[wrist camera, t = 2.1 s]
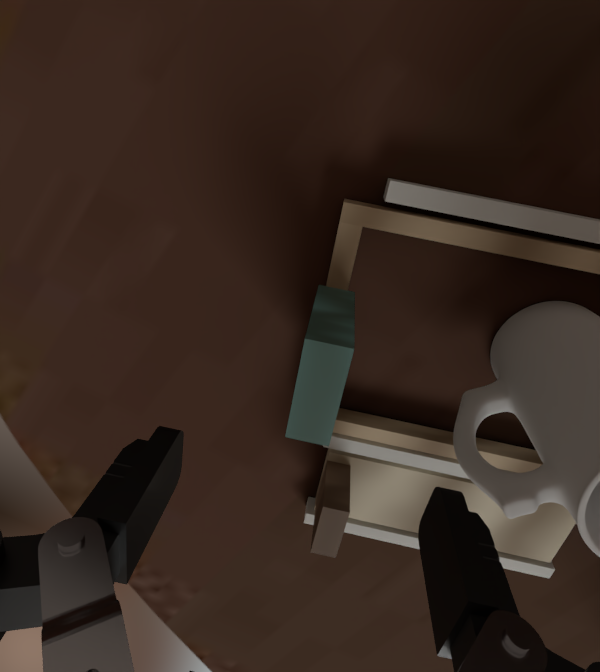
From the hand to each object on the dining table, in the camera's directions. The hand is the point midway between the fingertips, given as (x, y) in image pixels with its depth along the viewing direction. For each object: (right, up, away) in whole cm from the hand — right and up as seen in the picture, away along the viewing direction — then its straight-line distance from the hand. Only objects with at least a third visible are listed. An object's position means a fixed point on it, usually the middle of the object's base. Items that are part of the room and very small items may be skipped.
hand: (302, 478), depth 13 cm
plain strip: (+10, -7, +17) cm, 21 cm away
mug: (+13, +3, +12) cm, 18 cm away
